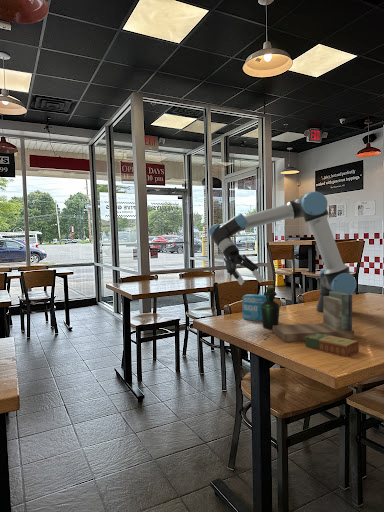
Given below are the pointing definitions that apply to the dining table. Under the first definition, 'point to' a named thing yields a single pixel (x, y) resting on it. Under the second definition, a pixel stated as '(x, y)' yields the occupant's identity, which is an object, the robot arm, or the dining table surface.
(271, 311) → the potion bottle
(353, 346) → the carton
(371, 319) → the dining table surface
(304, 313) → the dining table surface
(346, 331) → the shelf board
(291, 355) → the dining table surface
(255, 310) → the data package
